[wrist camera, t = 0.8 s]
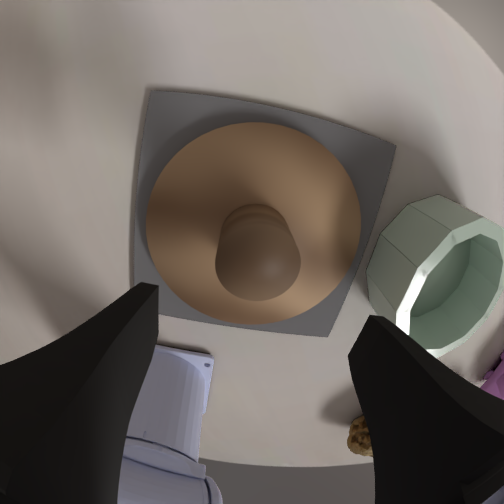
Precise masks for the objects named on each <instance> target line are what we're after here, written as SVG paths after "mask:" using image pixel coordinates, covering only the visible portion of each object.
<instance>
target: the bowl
mask: <svg viewBox="0 0 504 504" xmlns="http://www.w3.org/2000/svg"><path fill="white" fill-rule="evenodd" d="M366 275H367V284H368V293H369V302H370V304H371V305H372V307H373V309H374V310H375V312H376V313H377V315H378V316H383V317H385V318H387V319H388V320H390V321H391V322H392V323H394V324H395V325H396V326H398V327H399V328H400V329H401V330H403V331H404V332H405V333H406V334H407V335H409V336H410V337H411V338H412V339H413V340H415V341H416V342H417V343H418V344H419V345H421V346H422V347H423V348H424V349H425V350H427V351H428V352H429V353H430V354H431V355H433V356H434V357H435V358H438V357H440V356H442V355H444V354H446V353H447V352H449V351H451V350H453V349H455V348H456V347H458V346H460V345H461V344H463V343H465V342H466V341H467V340H468V339H469V338H470V337H471V336H472V335H473V334H474V332H475V331H476V330H477V329H478V328H479V327H480V326H481V325H482V324H483V323H484V322H485V321H486V320H487V319H488V317H489V315H490V314H491V312H492V310H493V308H494V306H495V305H496V303H497V301H498V299H499V297H500V295H501V293H502V291H503V289H504V228H502V227H501V226H499V225H497V224H496V223H494V222H492V221H490V220H489V219H487V218H485V217H483V216H481V215H480V214H478V213H476V212H474V211H472V210H470V209H468V208H466V207H464V206H462V205H460V204H458V203H456V202H454V201H452V200H449V199H447V198H445V197H443V196H441V195H435V196H432V197H429V198H426V199H423V200H420V201H417V202H414V203H410V204H408V205H407V206H406V207H405V208H404V209H403V210H402V211H401V212H400V213H399V215H398V216H397V217H396V218H395V219H394V220H393V221H392V222H391V223H390V224H389V225H388V226H387V227H386V228H385V229H384V230H383V231H382V232H381V233H380V236H379V238H378V241H377V244H376V247H375V249H374V252H373V255H372V257H371V260H370V262H369V265H368V267H367V270H366Z"/></svg>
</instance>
